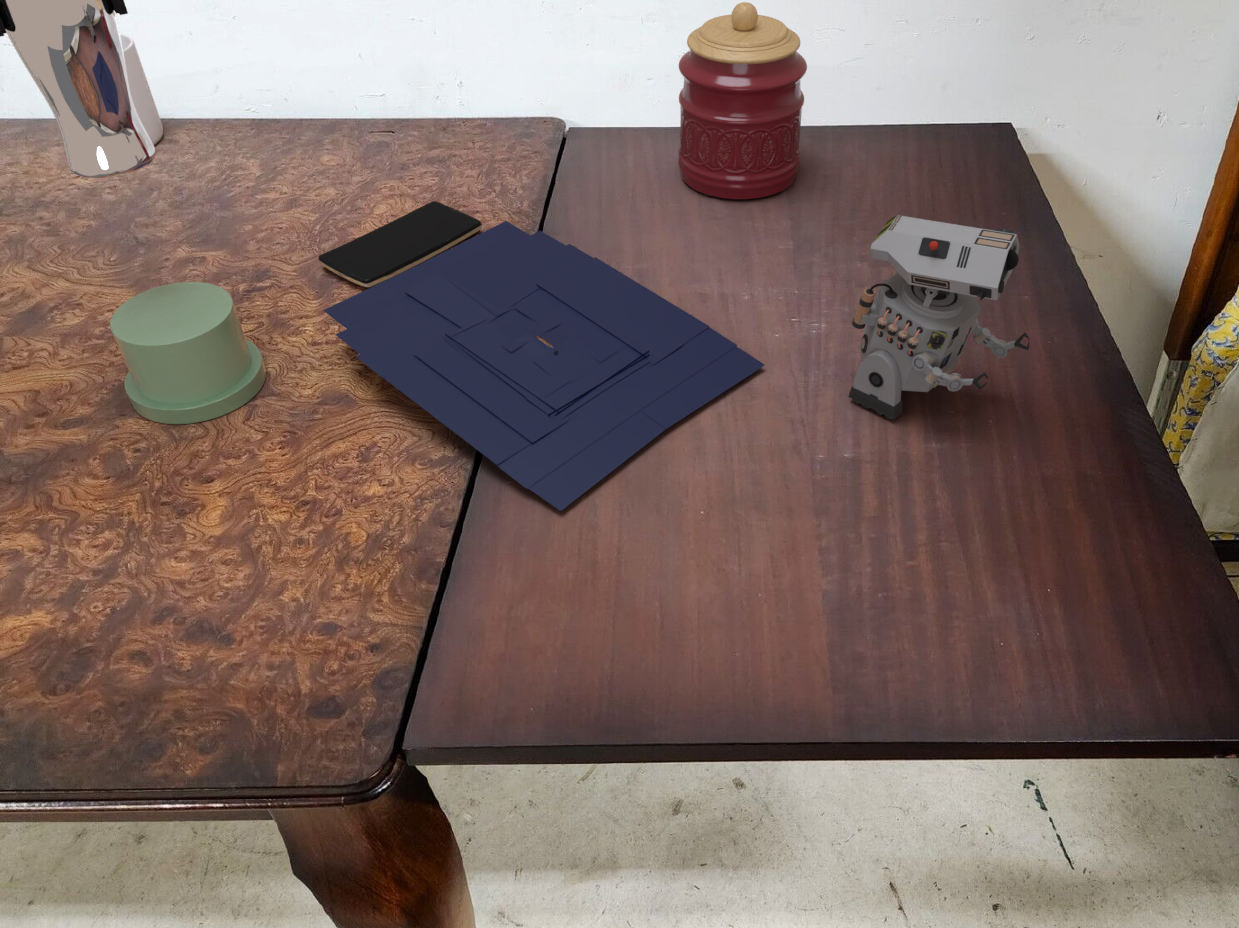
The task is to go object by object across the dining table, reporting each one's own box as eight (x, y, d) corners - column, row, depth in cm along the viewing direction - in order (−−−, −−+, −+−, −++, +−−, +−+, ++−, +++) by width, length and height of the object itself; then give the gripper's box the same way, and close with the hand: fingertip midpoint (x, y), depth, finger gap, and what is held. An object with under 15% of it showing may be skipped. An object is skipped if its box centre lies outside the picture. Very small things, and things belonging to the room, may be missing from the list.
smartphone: (314, 256, 101) (434, 199, 109) (317, 267, 102) (436, 209, 110) (363, 282, 97) (484, 220, 106) (366, 293, 98) (485, 231, 106)
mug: (89, 175, 117) (50, 77, 110) (85, 133, 125) (48, 39, 118) (171, 160, 120) (138, 63, 112) (162, 120, 128) (130, 27, 120)
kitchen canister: (733, 138, 122) (739, -27, 110) (822, 173, 115) (839, 1, 103) (653, 176, 115) (650, 4, 103) (744, 214, 109) (751, 36, 97)
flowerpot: (119, 432, 84) (85, 358, 79) (142, 355, 91) (112, 284, 87) (261, 415, 85) (236, 341, 80) (271, 340, 93) (249, 269, 88)
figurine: (955, 454, 80) (996, 281, 70) (832, 394, 86) (852, 225, 76) (1015, 400, 85) (1061, 230, 75) (894, 346, 91) (922, 181, 81)
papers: (521, 238, 103) (520, 204, 100) (762, 388, 91) (769, 355, 88) (309, 345, 90) (301, 310, 87) (557, 538, 77) (557, 504, 75)
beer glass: (62, 150, 80) (-28, -69, 70) (159, 134, 82) (85, -81, 72) (64, 189, 76) (-32, -40, 65) (166, 170, 78) (89, -54, 67)
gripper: (85, -326, 66) (178, -18, 78) (-245, -305, 59) (-87, 28, 71) (108, -315, 61) (203, 11, 73) (-248, -291, 54) (-78, 63, 66)
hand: (59, 17), depth 72 cm, fingers closed on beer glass, 7 cm apart
